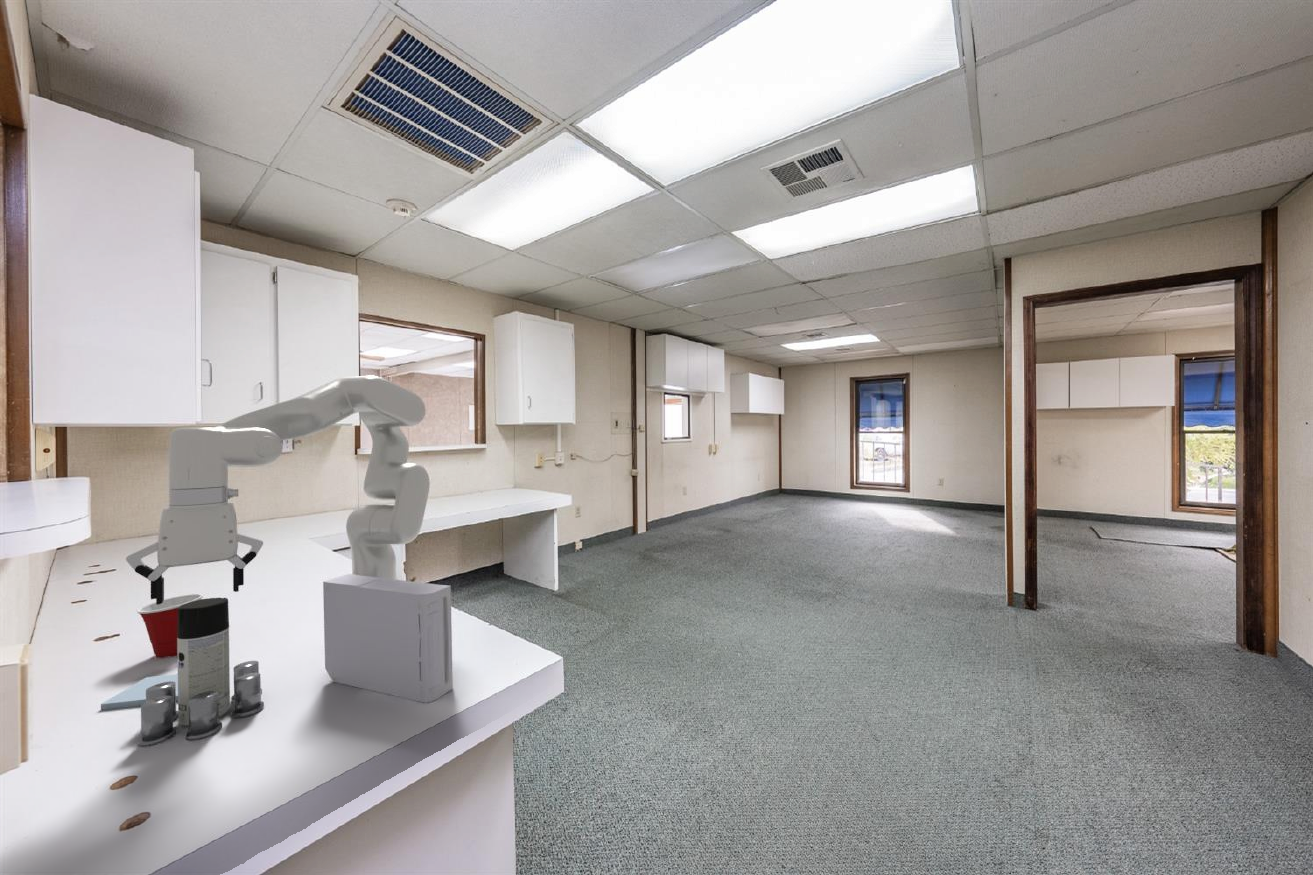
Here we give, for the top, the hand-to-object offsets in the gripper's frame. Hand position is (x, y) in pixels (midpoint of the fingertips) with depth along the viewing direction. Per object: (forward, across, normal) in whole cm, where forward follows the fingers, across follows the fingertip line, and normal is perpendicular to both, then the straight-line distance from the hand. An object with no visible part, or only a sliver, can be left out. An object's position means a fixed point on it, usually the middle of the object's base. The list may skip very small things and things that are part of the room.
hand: (199, 596), depth 84 cm
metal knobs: (+21, -1, 0) cm, 21 cm away
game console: (+21, -27, +10) cm, 36 cm away
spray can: (+22, -1, 0) cm, 22 cm away
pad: (+21, +5, -18) cm, 28 cm away
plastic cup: (+21, +6, -41) cm, 47 cm away
